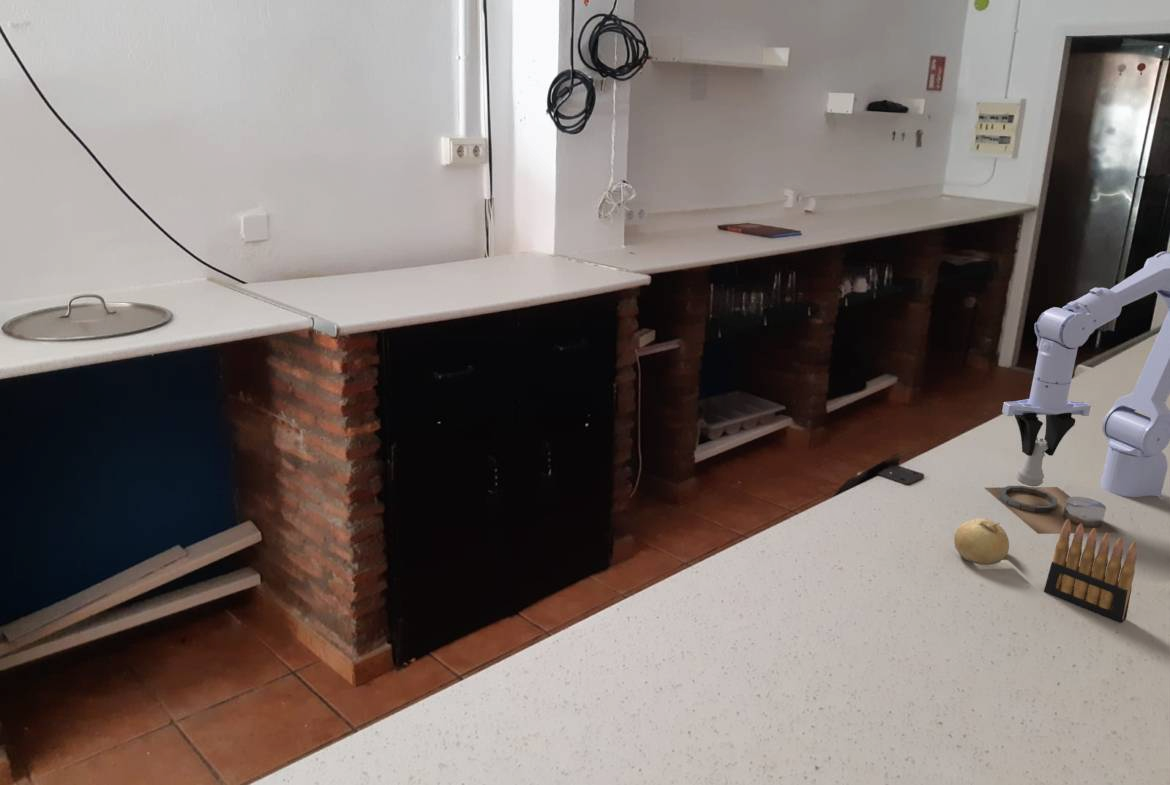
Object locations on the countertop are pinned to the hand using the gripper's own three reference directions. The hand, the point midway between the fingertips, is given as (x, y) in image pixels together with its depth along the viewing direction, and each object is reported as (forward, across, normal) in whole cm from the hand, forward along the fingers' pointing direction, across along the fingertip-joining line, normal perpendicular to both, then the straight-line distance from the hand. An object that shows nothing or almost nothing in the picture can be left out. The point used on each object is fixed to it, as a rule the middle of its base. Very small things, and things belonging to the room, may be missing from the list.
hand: (1037, 453), depth 159 cm
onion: (+10, +18, +18) cm, 28 cm away
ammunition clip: (+10, +9, +32) cm, 35 cm away
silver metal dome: (+9, -6, +8) cm, 13 cm away
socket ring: (+9, 0, 0) cm, 9 cm away
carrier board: (+10, -2, +3) cm, 11 cm away
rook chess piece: (+6, 0, -1) cm, 6 cm away
